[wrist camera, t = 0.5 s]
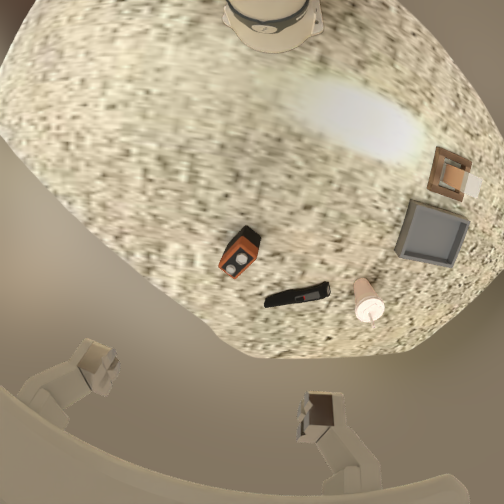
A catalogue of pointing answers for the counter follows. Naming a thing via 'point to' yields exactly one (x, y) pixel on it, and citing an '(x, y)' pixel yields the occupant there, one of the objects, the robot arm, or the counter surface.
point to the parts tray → (431, 235)
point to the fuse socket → (437, 171)
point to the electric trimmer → (298, 296)
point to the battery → (240, 252)
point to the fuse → (461, 180)
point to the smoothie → (367, 302)
